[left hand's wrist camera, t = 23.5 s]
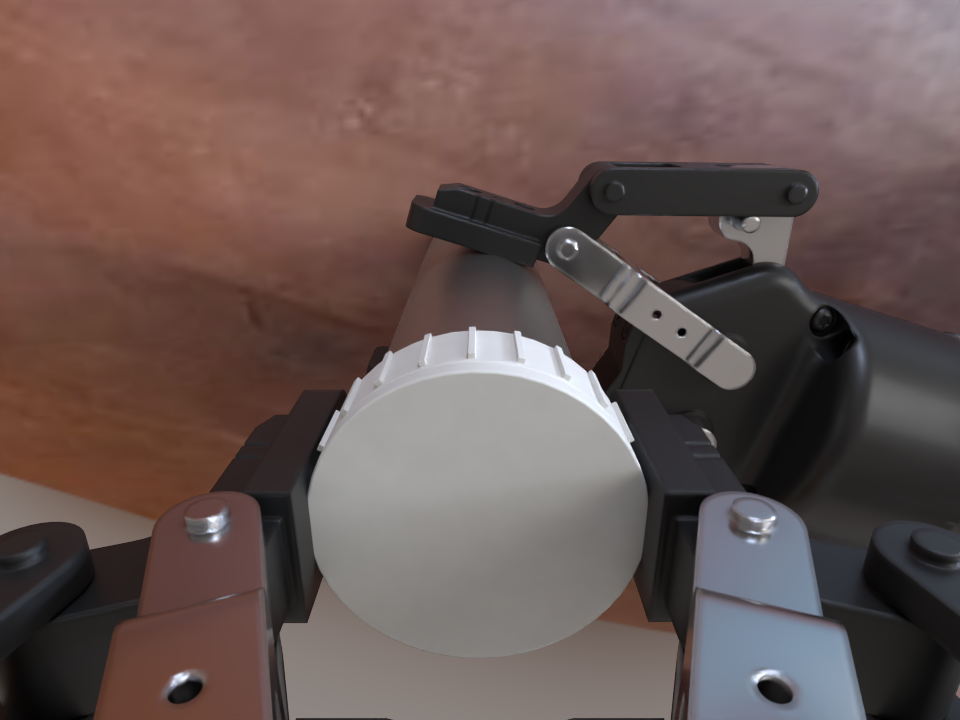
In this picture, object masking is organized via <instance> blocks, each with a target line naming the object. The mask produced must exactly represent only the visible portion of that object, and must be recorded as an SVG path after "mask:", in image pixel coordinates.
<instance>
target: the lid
mask: <svg viewBox="0 0 960 720" xmlns="http://www.w3.org/2000/svg"><path fill="white" fill-rule="evenodd" d="M633 441H634V438H633V436H632V434H631V432H630V430H629V428H628V425H627V423H626V421H625V419H624V417H623V415H622V413H621V411H620V409H619V407H618V405H617V403H616V402H613V403H611V402H610V400H609V399H608V397H607V396H606V394H605V393H604V392H603V390H602V388H601V386H600V384H599V382H598V379H597V377H596V375H595V373H594V372H593V371H592V370H590V371H589V372H588V373H587V372H586V371H585V370H584V369H583V368H582V367H580V366H579V365H578V364H577V363H575V362H574V361H573V360H572V359H570V358H569V357H567V356H565V355H564V354H563V351H562V348H560V347H559V346H555V348H552V347H549V346H547V345H545V344H542V343H540V342H538V341H535V340H533V339H529V338H526V337H522V336H521V332H519V331H514V333H513V334H509V333H503V332H497V331H476V327H469V331H461V332H451V333H447V334H442V335H438V336H433V337H432V335H431V333H429V334H426V335H425V336H424V340H421V341H419V342H416V343H413V344H411V345H409V346H407V347H405V348H403V349H401V350H399V351H397V352H395V353H392V352H391V351H389V352H387V353H386V354H385V356H384V358H383V361H382V362H381V363H379V364H378V365H377V366H376V367H375V368H373V369H372V370H371V371H370V372H369V373H368V374H367V375H366V376H365V377H364V378H363V379H362V380H361V379H360V378H359V377H358V378H357V379H356V380H355V381H354V383H353V385H352V387H351V389H350V391H349V394H348V396H347V398H346V400H345V402H344V404H343V406H342V408H341V410H340V411H338V410H336V411H335V413H334V415H333V417H332V419H331V421H330V423H329V425H328V427H327V429H326V431H325V433H324V436H323V438H322V440H321V442H320V444H319V446H318V448H317V450H318V451H321V455H320V457H319V459H318V461H317V464H316V466H315V469H314V471H313V474H312V476H311V480H310V485H309V489H308V507H309V515H310V524H311V532H312V540H313V549H314V556H315V561H316V563H317V565H318V568H319V570H320V572H321V573H322V575H323V577H324V579H325V580H326V582H327V584H328V585H329V587H330V588H331V589H332V590H333V592H334V593H335V594H336V596H337V597H338V598H339V599H340V601H341V602H342V603H343V604H344V605H345V606H346V607H347V608H348V609H350V611H351V612H352V613H354V614H355V615H356V616H357V617H359V618H360V619H361V620H362V621H364V622H365V623H366V624H368V625H369V626H370V627H372V628H374V629H375V630H377V631H379V632H380V633H382V634H384V635H385V636H387V637H389V638H392V639H394V640H396V641H398V642H400V643H402V644H405V645H408V646H411V647H414V648H417V649H420V650H422V651H427V652H431V653H435V654H440V655H445V656H454V657H461V658H492V657H505V656H510V655H516V654H521V653H526V652H529V651H533V650H536V649H540V648H543V647H546V646H548V645H551V644H553V643H556V642H558V641H561V640H563V639H565V638H567V637H568V636H570V635H572V634H574V633H576V632H578V631H580V630H581V629H582V628H584V627H585V626H587V625H588V624H590V623H591V622H593V621H594V620H595V619H597V618H598V617H599V616H600V615H601V614H602V613H603V612H604V611H606V610H607V609H608V608H609V607H610V606H611V605H612V604H613V603H614V601H615V600H616V599H617V598H618V597H619V596H620V595H621V594H622V592H623V591H624V589H625V588H626V586H627V585H628V583H629V582H630V580H631V579H632V577H633V575H634V573H635V571H636V569H637V567H638V565H639V563H640V561H641V558H642V551H643V543H644V534H645V526H646V517H647V508H648V491H647V485H646V482H645V479H644V476H643V473H642V470H641V467H640V464H639V462H638V460H637V458H636V456H635V453H634V451H633V449H632V447H631V445H630V442H633Z"/></svg>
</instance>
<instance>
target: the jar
mask: <svg viewBox="0 0 960 720" xmlns="http://www.w3.org/2000/svg"><path fill="white" fill-rule="evenodd" d="M469 327H476V331H497V332H503V333H509V334H513V333H514V331H519V332H521V336H522V337H526V338H529V339H533V340H535V341H538V342H540V343H542V344H545V345H547V346H549V347H552V348H555V346H559V347H560V348H562V351H563V354H564V355H565V356H567V357H569V358H570V359H572V357H571V355H570V352H569V349H568V347H567V344H566V342H565V339H564V336H563V334H562V331H561V328H560V326H559V323H558V320H557V318H556V315H555V312H554V310H553V307H552V305H551V302H550V299H549V297H548V294H547V291H546V289H545V286H544V283H543V281H542V278H541V276H540V273H539V270H538V268H537V265H536V262H535V265H534V268H532V267H528V266H525V265H522V264H519V263H516V262H513V261H510V260H508V259H505V258H503V257H498V256H494V255H490V254H486V253H483V252H480V251H477V250H473V249H470V248H467V247H464V246H460V245H457V244H454V243H451V242H447V241H444V240H441V239H438V238H435V237H433V239H432V241H431V243H430V244H429V247H428V250H427V252H426V255H425V257H424V260H423V262H422V265H421V268H420V270H419V273H418V275H417V278H416V280H415V283H414V285H413V288H412V291H411V293H410V296H409V298H408V301H407V303H406V306H405V309H404V311H403V314H402V316H401V319H400V321H399V324H398V327H397V329H396V332H395V334H394V337H393V339H392V342H391V344H390V347H389V350H388V352H389V351H391V352H392V353H395V352H397V351H399V350H401V349H403V348H405V347H407V346H409V345H411V344H413V343H416V342H419V341H421V340H424V336H425V335H426V334H429V333H431V335H432V337H433V336H438V335H442V334H447V333H451V332H461V331H469Z"/></svg>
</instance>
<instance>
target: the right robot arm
mask: <svg viewBox="0 0 960 720" xmlns="http://www.w3.org/2000/svg"><path fill="white" fill-rule="evenodd" d="M818 193H819V186H818V182H817V180H816V178H815V177H814V176H813V175H812V174H811V173H809V172H807V171H804V170H798V169H792V168H787V167H781V166H775V165H769V164H763V163H689V162H603V161H600V162H594V163H591V164H589V165H588V166H586V167H585V168H584V169H583V171H582V172H581V174H580V176H579V180H578V182H577V183H576V184H575V186H574V187H573V188H572V189H571V191H570V192H569V193H568V194H567V196H566V197H565V198H564V199H563V200H562V201H561V202H560V203H559V204H557V205H555V206H553V207H550V208H536V207H533V206H530V205H527V204H524V203H520V202H517V201H514V200H511V199H508V198H505V197H502V196H499V195H495V194H492V193H489V192H486V191H483V190H479V189H477V188H474V187H470V186H467V185H464V184H461V183H454V184H442V185H440V187H439V189H438V191H437V195H436V198H435V199H434V198H430V197H427V196H422V195H416V197H415V198H414V199H413V200H412V203H411V207H410V210H409V214H408V218H407V222H406V227H408V228H409V229H411V230H413V231H416V232H418V233H422V234H425V235H428V236H431V237H435V238H438V239H441V240H444V241H447V242H451V243H454V244H457V245H460V246H464V247H467V248H470V249H473V250H477V251H480V252H483V253H486V254H490V255H494V256H498V257H503V258H505V259H508V260H510V261H513V262H516V263H519V264H522V265H525V266H528V267H532V268H534V265H535V262H536V259H537V260H540V261H543V262H547V263H550V264H551V265H552V266H553V267H554V268H556V269H557V270H559V271H560V272H562V273H563V274H564V275H566V276H567V277H569V278H570V279H572V280H573V281H575V282H576V283H577V284H579V285H580V286H582V287H583V288H585V289H586V290H587V291H589V292H590V293H592V294H593V295H595V296H596V297H597V298H599V299H600V300H601V301H603V302H604V303H605V304H606V305H607V306H608V307H609V308H610V309H612V310H613V311H614V312H615V313H616V314H615V317H614V319H613V321H612V324H611V332H610V341H609V347H608V349H607V351H606V352H605V353H604V355H603V356H602V357H601V358H600V360H599V361H598V362H597V364H596V365H595V366H594V368H593V372H594V373H595V375H596V377H597V379H598V382H599V384H600V386H601V388H602V390H603V392H604V393H605V394H606V396H607V397H608V399H609V398H610V394H611V391H612V390H613V389H651V390H653V391H654V393H655V395H656V396H657V398H658V399H659V401H660V403H661V404H662V406H663V407H664V409H665V411H666V412H667V414H681V415H682V416H684V417H686V418H687V419H689V420H690V421H692V422H693V423H695V424H696V425H698V426H700V427H701V428H702V430H703V431H704V432H705V434H706V435H707V437H708V438H709V440H710V441H711V445H714V447H715V448H716V449H717V451H718V452H719V454H720V458H723V459H724V461H725V462H726V464H727V465H728V467H729V468H730V469H731V471H732V472H733V474H734V475H735V476H736V478H737V479H738V481H739V482H740V484H741V485H742V486H743V488H744V489H745V491H746V492H748V493H753V494H758V495H761V496H765V497H768V498H770V499H773V500H775V501H777V502H779V503H781V504H783V505H785V506H787V507H788V508H790V509H791V510H793V511H794V512H795V513H796V514H797V515H798V516H799V517H800V518H801V519H802V520H803V522H804V523H805V525H806V528H807V531H808V537H810V538H814V539H818V540H823V541H828V542H833V543H838V544H843V545H848V546H853V547H858V548H864V549H868V547H869V543H870V540H871V536H872V533H873V531H874V529H875V528H876V527H877V526H878V525H880V524H882V523H884V522H888V521H895V520H908V521H916V522H922V523H927V524H931V525H934V526H938V527H941V528H944V529H947V530H949V531H952V532H954V533H956V534H959V535H960V335H959V334H955V333H950V332H940V331H936V330H933V329H930V328H927V327H924V326H921V325H918V324H915V323H911V322H908V321H905V320H902V319H899V318H896V317H892V316H889V315H886V314H883V313H880V312H877V311H874V310H871V309H867V308H864V307H861V306H858V305H855V304H852V303H849V302H845V301H842V300H839V299H836V298H833V297H830V296H827V295H824V294H820V293H817V292H814V291H811V290H809V289H808V288H807V287H806V286H805V285H804V284H803V283H802V282H801V280H800V279H799V277H798V276H797V275H796V274H795V273H794V272H793V271H792V270H790V269H789V268H787V267H786V266H785V260H786V255H787V250H788V245H789V240H790V235H791V230H792V224H793V219H794V217H796V216H800V215H802V214H804V213H806V212H807V211H808V210H809V209H810V208H811V207H812V206H813V205H814V203H815V202H816V200H817V197H818ZM617 215H645V216H709V217H708V219H709V224H710V226H711V228H712V229H713V231H715V232H716V233H717V234H719V235H721V236H723V237H725V238H727V239H729V240H732V241H737V242H738V244H739V246H740V248H741V257H738V258H735V259H732V260H729V261H726V262H723V263H720V264H717V265H713V266H710V267H707V268H704V269H701V270H698V271H695V272H692V273H688V274H685V275H682V276H679V277H676V278H673V279H670V280H666V281H663V282H660V281H658V280H657V279H656V278H654V277H653V276H651V275H650V274H649V273H647V272H646V271H645V270H643V269H642V268H640V267H639V266H638V265H636V264H635V263H633V262H632V261H631V260H629V259H628V258H626V257H625V256H624V255H622V254H621V253H620V252H618V251H617V250H615V249H613V248H611V247H610V246H609V245H607V244H606V243H604V242H603V241H602V240H600V239H599V237H600V236H601V235H602V233H603V232H604V231H605V230H606V229H607V227H608V226H609V225H610V224H611V222H612V221H613V220H614V219H615V218H616V216H617ZM388 350H389V347H384V346H382V347H377V348H376V349H375V351H374V353H373V355H372V357H371V360H370V362H369V365H368V368H367V372H366V375H367V374H368V373H369V372H370V371H371V370H372V369H373V368H375V367H376V366H377V365H378V364H379V363H381V362H382V361H383V358H384V356H385V354H386V353H387V352H388Z"/></svg>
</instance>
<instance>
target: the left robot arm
mask: <svg viewBox="0 0 960 720" xmlns="http://www.w3.org/2000/svg"><path fill="white" fill-rule="evenodd" d="M346 398H347V395H346V392H345V391H344V390H304V391H303V393H302V394H301V396H300V397H299V399H298V401H297V402H296V404H295V405H294V407H293V408H292V410H291V412H290V413H289V415H275V416H273V417H272V418H270V419H269V420H267V421H265V422H264V423H262V424H261V425H259V426H258V427H256V428H255V429H254V431H253V432H252V433H251V435H250V436H249V438H248V439H247V440H246V442H245V446H242V447H241V449H240V450H239V452H238V453H237V454H236V459H233V460H232V461H231V463H230V464H229V466H228V467H227V468H226V470H225V471H224V473H223V474H222V475H221V477H220V478H219V480H218V481H217V482H216V484H215V485H214V487H213V488H212V489H211V491H210V492H209V493H207V494H202V495H199V496H195V497H192V498H190V499H187V500H185V501H183V502H181V503H179V504H177V505H175V506H173V507H172V508H170V509H169V510H167V511H166V512H165V513H164V514H163V515H162V516H161V517H160V518H159V519H158V520H157V522H156V523H155V525H154V528H153V531H152V536H151V537H148V538H145V539H141V540H137V541H132V542H127V543H122V544H117V545H112V546H107V547H102V548H97V549H91V550H89V546H88V542H87V539H86V535H85V533H84V531H83V530H82V529H81V528H80V527H79V526H77V525H75V524H71V523H66V522H47V523H39V524H35V525H29V526H26V527H22V528H19V529H16V530H13V531H10V532H8V533H5V534H3V535H0V720H289V712H288V702H287V692H286V682H285V672H284V662H283V653H282V646H281V640H280V630H281V627H282V625H283V623H307V622H308V619H309V616H310V613H311V610H312V607H313V604H314V601H315V598H316V595H317V593H318V589H319V587H320V583H321V581H322V578H323V575H322V573H321V572H320V570H319V568H318V565H317V563H316V561H315V556H314V549H313V540H312V532H311V524H310V515H309V507H308V489H309V485H310V480H311V476H312V474H313V471H314V469H315V466H316V464H317V461H318V459H319V457H320V455H321V451H318V450H317V448H318V446H319V444H320V442H321V440H322V438H323V436H324V433H325V431H326V429H327V427H328V425H329V423H330V421H331V419H332V417H333V415H334V413H335V411H336V410H338V411H340V410H341V408H342V406H343V404H344V402H345V400H346ZM609 400H610V402H611V403H613V402H616V403H617V405H618V407H619V409H620V411H621V413H622V415H623V417H624V419H625V421H626V423H627V425H628V428H629V430H630V432H631V434H632V436H633V438H634V441H633V442H630V445H631V447H632V449H633V451H634V453H635V456H636V458H637V460H638V462H639V464H640V467H641V470H642V473H643V476H644V479H645V482H646V485H647V491H648V508H647V517H646V526H645V534H644V543H643V551H642V558H641V561H640V563H639V565H638V567H637V569H636V571H635V573H634V575H633V576H634V579H635V582H636V586H637V589H638V592H639V595H640V598H641V601H642V604H643V607H644V610H645V613H646V616H647V619H648V622H672V623H673V625H674V628H675V631H676V633H677V636H678V639H679V646H678V653H677V661H676V672H675V682H674V692H673V702H672V712H671V720H960V699H959V698H958V697H957V696H956V692H957V689H958V687H959V684H960V535H959V534H956V533H954V532H952V531H949V530H947V529H944V528H941V527H938V526H934V525H931V524H927V523H922V522H916V521H908V520H895V521H888V522H884V523H882V524H880V525H878V526H877V527H876V528H875V529H874V531H873V533H872V536H871V540H870V543H869V547H868V549H864V548H858V547H853V546H848V545H843V544H838V543H833V542H828V541H823V540H818V539H814V538H810V537H808V531H807V528H806V525H805V523H804V522H803V520H802V519H801V518H800V517H799V516H798V515H797V514H796V513H795V512H794V511H793V510H791V509H790V508H788V507H787V506H785V505H783V504H781V503H779V502H777V501H775V500H773V499H770V498H768V497H765V496H761V495H758V494H753V493H748V492H746V491H745V489H744V488H743V486H742V485H741V484H740V482H739V481H738V479H737V478H736V476H735V475H734V474H733V472H732V471H731V469H730V468H729V467H728V465H727V464H726V462H725V461H724V459H723V458H720V454H719V452H718V451H717V449H716V448H715V447H714V445H711V441H710V440H709V438H708V437H707V435H706V434H705V432H704V431H703V430H702V428H701V427H700V426H698V425H696V424H695V423H693V422H692V421H690V420H689V419H687V418H686V417H684V416H682V415H681V414H667V412H666V411H665V409H664V407H663V406H662V404H661V403H660V401H659V399H658V398H657V396H656V395H655V393H654V391H653V390H651V389H613V390H612V391H611V394H610V398H609ZM296 720H391V719H387V718H296ZM569 720H664V718H573V719H569Z"/></svg>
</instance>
